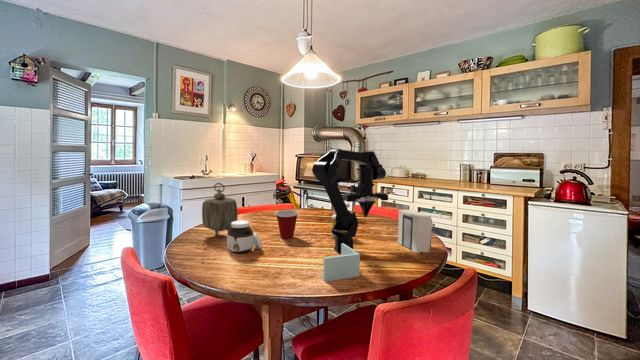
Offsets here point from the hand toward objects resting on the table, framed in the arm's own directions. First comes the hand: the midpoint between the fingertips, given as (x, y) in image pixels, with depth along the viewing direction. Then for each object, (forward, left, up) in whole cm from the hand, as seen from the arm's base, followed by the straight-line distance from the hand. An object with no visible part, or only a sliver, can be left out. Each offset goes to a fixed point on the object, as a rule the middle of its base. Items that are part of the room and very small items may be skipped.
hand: (365, 216), depth 128 cm
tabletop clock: (-61, +27, -12) cm, 68 cm away
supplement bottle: (-7, +14, -12) cm, 20 cm away
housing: (+18, -9, -12) cm, 23 cm away
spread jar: (-50, +4, -12) cm, 52 cm away
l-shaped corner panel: (-22, -26, -12) cm, 36 cm away
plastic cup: (-31, +18, -12) cm, 38 cm away
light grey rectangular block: (+20, -9, -12) cm, 25 cm away
